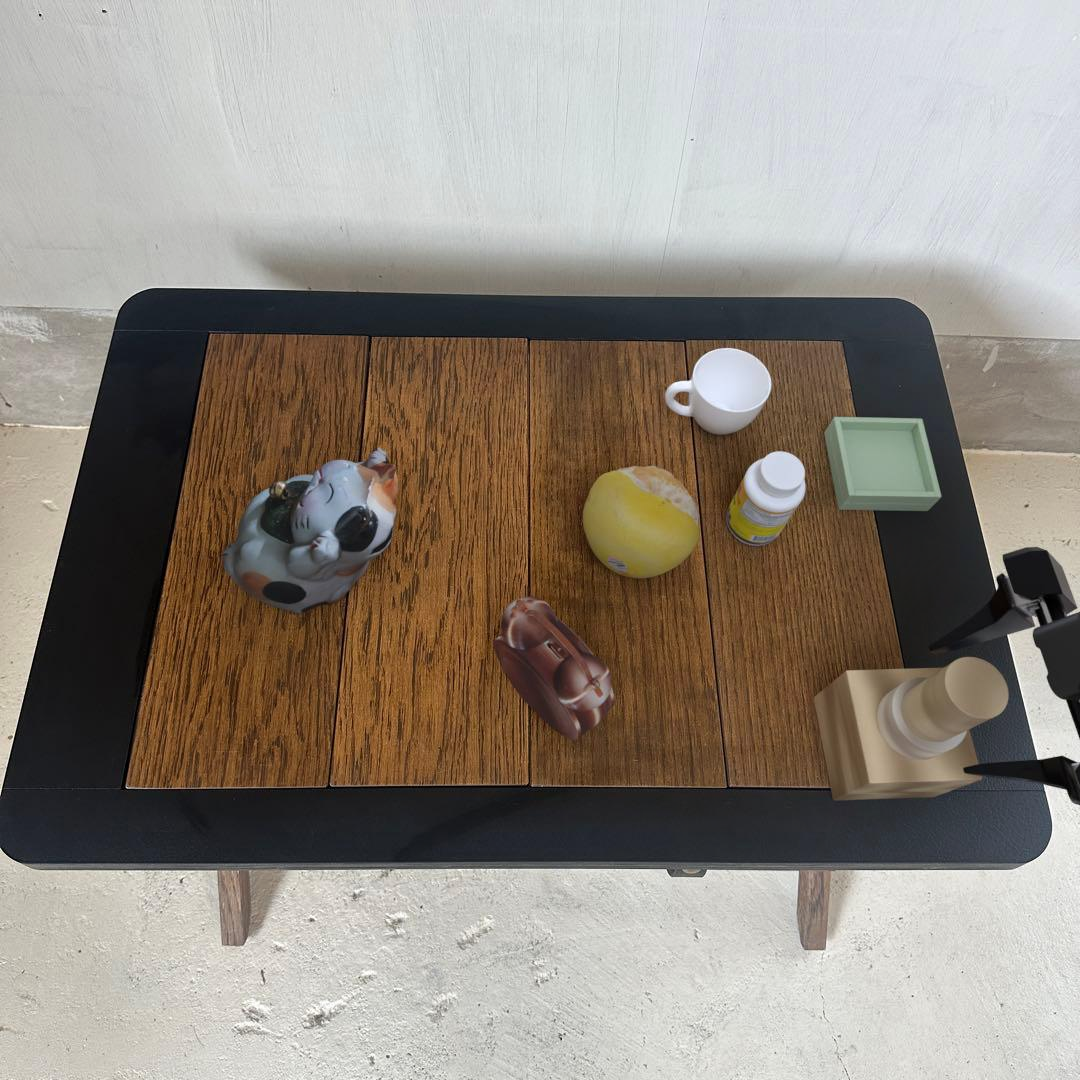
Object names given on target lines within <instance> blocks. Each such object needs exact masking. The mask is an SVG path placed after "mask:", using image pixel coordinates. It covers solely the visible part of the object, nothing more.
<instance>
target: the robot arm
mask: <svg viewBox="0 0 1080 1080" xmlns="http://www.w3.org/2000/svg"><path fill="white" fill-rule="evenodd" d="M1002 562H1003V565H1004V568H1005V570H1006V571H1005V572H1006V573H1007V575H1005V574H1004V573H1003V572H1001V573H1000V574H998V575H997V576H996V577H995V580H996V584H997V588H996V590H995V592H994V593H993V595H992V596H991V598H990V599H989V601H988V602H987V603H986V604H985V605H984V606H983V607H982V608H980V609H979V610H978V611H977V612H976V613H974V614H973V615H971V616H970V617H969V618H968V619H966V620H965V621H963V622H962V623H961V624H959V625H958V626H956V627H955V628H953V629H952V630H950V631H949V632H948V633H946V634H945V635H943V636H942V637H940V638H938V639H937V640H936V641H934V642H933V643H931V644H930V645H929V646H928V651H929V653H932V654H933V655H934V654H940V653H946V652H952V651H957V650H960V649H963V648H964V649H965V648H968V647H971V646H974V645H977V644H982V643H984V642H988V641H991V640H995V639H999V638H1001V637H1002V638H1003V637H1005V636H1008V635H1012V634H1015V633H1018V632H1022V631H1025V630H1029V629H1032V628H1033V630H1032V639H1033V643H1034V646H1035V647H1036V648H1038V649H1039V650H1040V651H1039V652H1040V653H1041V656H1042V657H1041V658H1042V660H1043V662H1044V665H1045V668H1046V670H1047V671H1046V672H1047V674H1046V680H1047V683H1048V687H1049V688H1050V689H1051V692H1052V693H1053V694H1054V695H1055V696H1056V697H1057V698H1059V699H1061V700H1064V701H1066V705H1067V707H1068V710H1069V713H1070V716H1071V719H1072V722H1073V724H1074V727H1075V730H1076V733H1077V736H1078V738H1079V740H1080V611H1077V612H1074V611H1075V610H1077V609H1078V605H1077V603H1076V600H1075V598H1074V594H1073V592H1072V589H1071V586H1070V584H1069V581H1068V578H1067V576H1066V573H1065V570H1064V567H1063V566H1062V565H1061V564H1060V563H1059V562H1058V560H1057V559H1056V558H1055V557H1054V556H1053V555H1052V554H1051V553H1050V552H1049V551H1048V550H1047V549H1044V548H1041V547H1039V546H1026V547H1023V548H1019V549H1016V550H1013V551H1010V552H1005V553H1003V554H1002ZM1073 612H1074V613H1073ZM1070 613H1072V614H1070ZM1068 614H1069V615H1068ZM1033 617H1035V618H1036V619H1037V621H1038V624H1039V626H1036V624H1035V622H1034V618H1033ZM963 771H964V773H966V774H970V775H978V776H982V777H987V778H995V779H1002V780H1003V779H1004V780H1009V781H1010V780H1012V781H1018V782H1019V781H1020V782H1025V783H1032V784H1033V783H1034V784H1040V785H1043V786H1049V787H1052V788H1056V789H1061V790H1065V791H1066V792H1067V796H1068V798H1069V800H1070V802H1071V803H1073V804H1074V805H1078V806H1080V761H1078V762H1077V761H1076V760H1073V759H1071V758H1069V757H1067V756H1065V755H1058V756H1052V757H1047V758H1042V759H1029V760H1028V759H1027V760H1014V761H1013V760H1012V761H1000V762H999V761H998V762H985V763H979V764H977V765H973V766H968V767H964V768H963Z"/></svg>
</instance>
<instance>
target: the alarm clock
mask: <svg viewBox="0 0 1080 1080" xmlns="http://www.w3.org/2000/svg"><path fill="white" fill-rule="evenodd" d="M500 626H501V627H500V628H501V633H500V634H499V635H498V637H497V638H495V639H494V640H493V641H492V644H493V645H492V646H493V650H494V654H495V655H496V658H497V660H498V662H499V664H500V665H501V668H502V669H503V672H504V674H505V675H506V677H507V679H508V681H509V682H510V683H511V685H512V686H513V688H514V689H515V691H516V692H517V693H518V694H519V696H520V697H521V699H522V700H523V701H524V702H525V703H526V704H527V706H528V707H529V708H530V709H531V710H532V711H533V712H534V714H536V715H537V716H538V717H539V718H540V719H541V720H542V721H543V722H545V723H546V724H547V725H548V726H549V727H551V728H552V729H553V730H555V731H556V733H558V734H560V735H561V736H562V737H564V738H566V739H567V740H570V741H578V739H579V738H581V737H582V736H583V735H585V734H586V733H588V732H589V731H591V730H592V729H593V728H594V727H596V726H597V725H598V724H599V723H600V722H601V721H602V719H604V717H605V716H606V715H607V714H608V713H609V712H610V711H611V709H612V708H613V707H614V706H615V703H616V697H615V693H614V690H613V686H612V682H613V681H612V680H613V678H612V674H611V672H610V669H609V668H608V666H607V664H606V663H605V662H604V661H603V660H602V659H601V658H599V657H598V656H596V655H595V654H594V653H593V652H592V650H591V649H590V648H589V647H588V646H587V644H586V643H585V642H584V641H583V640H582V638H581V637H580V636H579V635H578V634H577V633H575V632H574V630H572V629H571V628H570V626H569V625H568V624H565V622H563V621H562V620H561V619H560V618H557V615H556V614H555V612H554V609H553V608H552V607H551V606H550V605H549V604H548V603H547V602H546V601H545V600H543V599H542V598H540V597H537V596H524V597H520V598H517V599H515V600H513V601H512V602H511V603H510V604H509V605H508V606H507V607H506V608H505V610H504V611H503V612H502V615H501V622H500Z"/></svg>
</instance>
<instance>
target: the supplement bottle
mask: <svg viewBox="0 0 1080 1080" xmlns="http://www.w3.org/2000/svg"><path fill="white" fill-rule="evenodd" d="M805 478H806V470H805V467H804V463H802V461H801V460H800V459H799V458H798V457H797V456H796V455H794V454H792V453H791V452H787V451H782V450H781V451H780V450H779V451H778V450H777V451H773V452H770V453H768V454H767V455H766V456H765V457H763V458H760V459H757V460H756V461H755V462H753V463H752V464H751V465H750V466H749V467H748V469H747V470H746V472H745V474H744V476H743V478H742V480H741V482H740V484H739V486H738V488H737V490H736V492H735V494H734V496H733V498H732V500H731V502H730V504H729V506H728V508H727V511H726V525H727V528H728V530H729V531H730V533H731V535H732V536H733V537H735V538H736V539H737V540H738V541H740V543H743V544H746V545H749V546H753V547H759V546H765V545H768V544H771V543H772V542H774V541H775V540H776V539H777V538H778V537H779V535H780V534H781V532H782V531H783V530H784V528H785V526H786V525H787V524H788V523H789V520H790V519H791V518H792V516H793V515H794V513H795V512H796V510H797V509H798V507H799V505H800V504H801V502H803V499H804V497H805V495H806V481H805Z"/></svg>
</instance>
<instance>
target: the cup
mask: <svg viewBox="0 0 1080 1080" xmlns="http://www.w3.org/2000/svg"><path fill="white" fill-rule="evenodd" d="M771 392H772V378H771V374H770V373H769V370H768V369H767V367H766V365H765V364H764V363H763V362H762V361H761V360H760V359H758V358H757V357H756V356H755V355H753V354H752V353H749V352H747V351H745V350H741V349H739V348H733V347H732V348H731V347H722V348H717V349H714V350H711V351H709V352H708V351H707V353H705V354H703V355H702V356H701V357H700V358H699V359H698V360H697V361H696V363H695V365H694V367H693V371H692V374H691V377H690V380H679V381H675V382H673V383H671V384H670V385H669V386H668V387H667V389H666V390H665V392H664V402H665V404H666V406H667V407H668V408H669V410H671V411H673V412H674V413H675V414H677V415H680V416H682V417H689V418H691V417H692V418H693V419H694V420H695V422H696V423H697V425H698V426H699V427H700V428H701V429H702V430H703V431H705V432H707V433H709V434H711V435H715V436H717V435H718V436H724V435H730V434H735V433H737V432H739V431H740V430H742V429H743V430H744V428H746V427H747V426H749V425H750V424H751V423H752V422H753V421H754V420H755V419H757V417H758V416H759V415H760V413H761V411H762V410H763V408H764V407H765V405H766V403H767V401H768V398H769V396H770V394H771ZM678 393H687V394H688V395H687V397H688V399H687V400H688V405H683V404H681V403H679V402H678V401H677V400H676V399H675V396H676V395H677V394H678Z"/></svg>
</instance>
